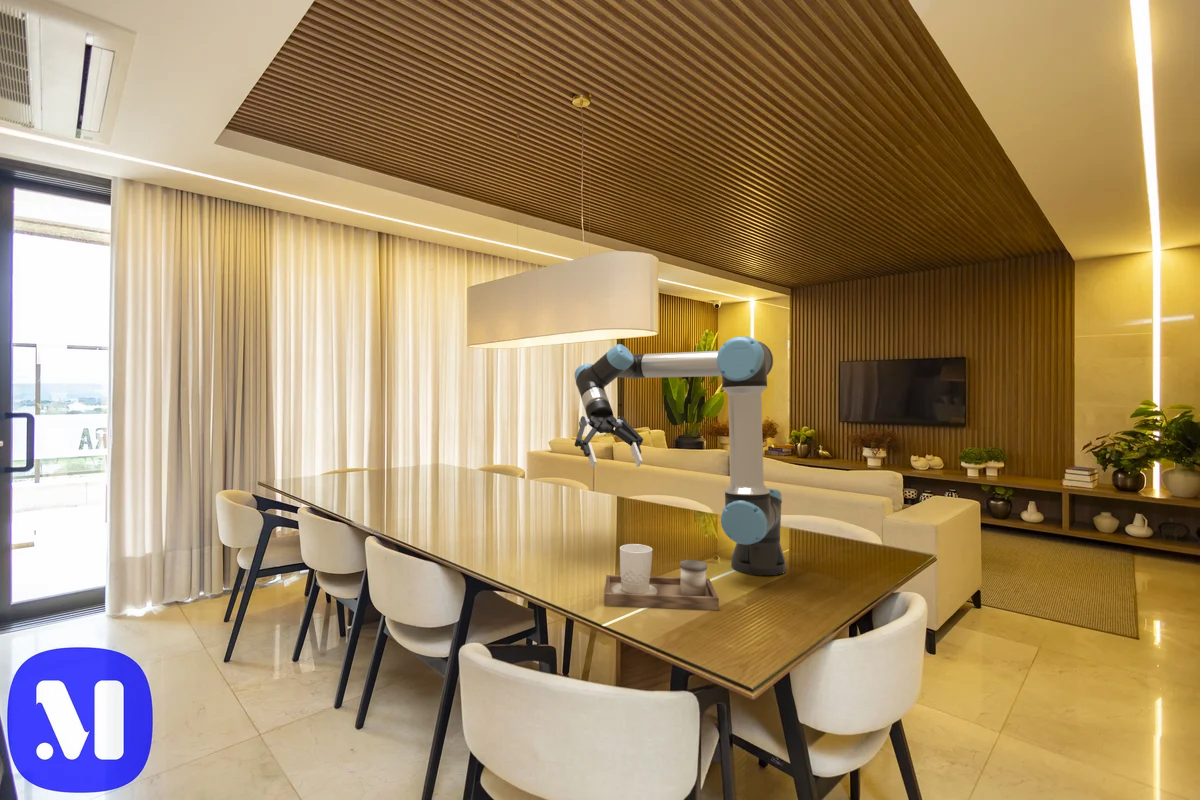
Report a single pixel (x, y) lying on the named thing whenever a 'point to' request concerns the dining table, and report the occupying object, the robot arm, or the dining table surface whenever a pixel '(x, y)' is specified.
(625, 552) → the white cup
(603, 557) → the dining table surface
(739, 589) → the dining table surface
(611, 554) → the dining table surface
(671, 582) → the tray
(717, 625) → the dining table surface
